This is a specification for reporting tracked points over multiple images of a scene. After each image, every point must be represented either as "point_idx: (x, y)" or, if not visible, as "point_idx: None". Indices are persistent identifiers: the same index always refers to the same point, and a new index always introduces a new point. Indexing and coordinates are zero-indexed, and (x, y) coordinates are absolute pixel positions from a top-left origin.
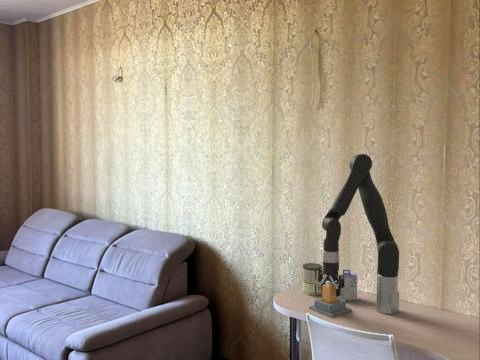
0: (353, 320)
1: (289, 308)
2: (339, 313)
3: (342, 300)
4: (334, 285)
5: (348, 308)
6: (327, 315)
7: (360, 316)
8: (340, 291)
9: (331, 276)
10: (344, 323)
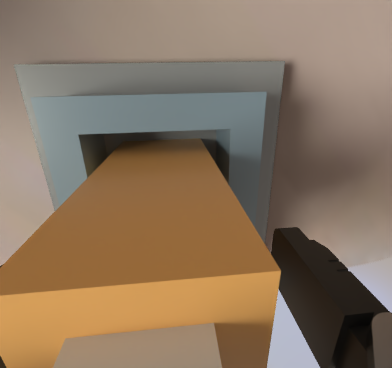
0: (366, 189)
1: None
2: (267, 199)
3: (239, 117)
4: (242, 365)
5: (265, 82)
6: None
7: (376, 102)
8: (355, 280)
9: None
10: (346, 252)
